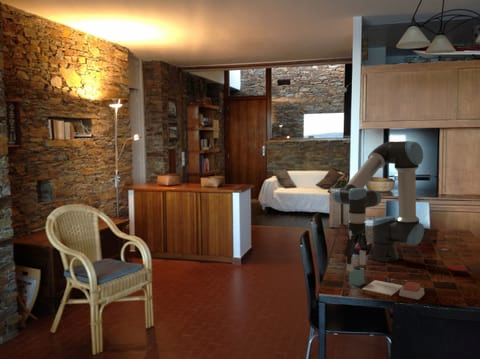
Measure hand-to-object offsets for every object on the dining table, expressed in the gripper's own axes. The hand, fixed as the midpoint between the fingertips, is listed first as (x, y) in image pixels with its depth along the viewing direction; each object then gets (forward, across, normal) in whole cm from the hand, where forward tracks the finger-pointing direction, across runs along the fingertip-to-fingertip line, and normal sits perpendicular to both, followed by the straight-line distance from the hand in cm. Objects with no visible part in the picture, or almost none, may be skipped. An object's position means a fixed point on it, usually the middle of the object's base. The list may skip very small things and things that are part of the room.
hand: (356, 267), depth 203 cm
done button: (+5, 0, +25) cm, 26 cm away
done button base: (+8, 0, +25) cm, 26 cm away
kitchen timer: (+7, -72, -30) cm, 78 cm away
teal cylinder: (+8, 0, 0) cm, 8 cm away
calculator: (+7, -57, -24) cm, 62 cm away
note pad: (+8, -2, +12) cm, 14 cm away
